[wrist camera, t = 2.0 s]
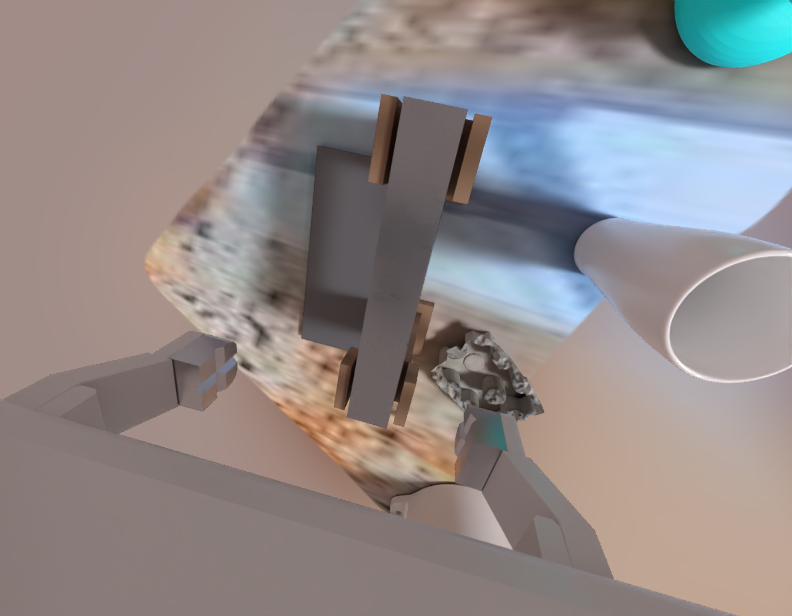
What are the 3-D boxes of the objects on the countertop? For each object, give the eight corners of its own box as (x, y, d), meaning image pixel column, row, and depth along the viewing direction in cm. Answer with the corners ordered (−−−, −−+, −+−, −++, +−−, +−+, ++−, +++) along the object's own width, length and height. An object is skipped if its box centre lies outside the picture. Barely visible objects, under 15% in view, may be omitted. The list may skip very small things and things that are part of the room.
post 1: (462, 203, 28) (467, 224, 17) (397, 187, 29) (360, 199, 17) (483, 126, 26) (505, 93, 14) (411, 111, 26) (379, 67, 15)
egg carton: (428, 351, 35) (424, 372, 31) (488, 317, 32) (492, 336, 29) (480, 418, 37) (483, 445, 34) (540, 392, 35) (550, 418, 31)
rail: (393, 401, 26) (386, 428, 23) (358, 391, 26) (346, 417, 23) (465, 119, 17) (467, 109, 14) (411, 107, 17) (403, 96, 15)
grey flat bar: (361, 351, 36) (360, 354, 36) (303, 335, 37) (301, 338, 36) (396, 162, 28) (394, 162, 27) (320, 145, 28) (317, 145, 28)
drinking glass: (546, 254, 29) (628, 329, 15) (610, 190, 26) (782, 212, 12) (599, 298, 29) (724, 409, 16) (668, 241, 27) (889, 316, 13)
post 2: (420, 351, 35) (404, 437, 24) (368, 337, 35) (328, 416, 24) (434, 303, 32) (423, 373, 21) (377, 288, 33) (338, 350, 22)
